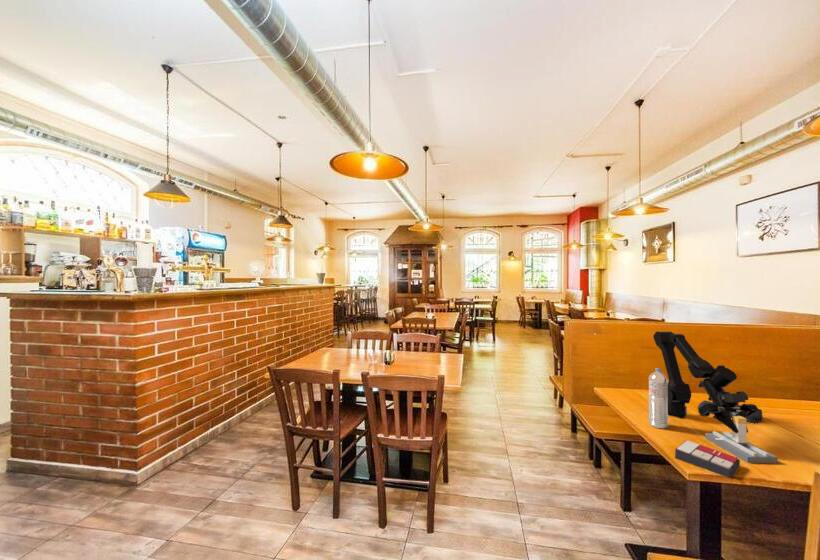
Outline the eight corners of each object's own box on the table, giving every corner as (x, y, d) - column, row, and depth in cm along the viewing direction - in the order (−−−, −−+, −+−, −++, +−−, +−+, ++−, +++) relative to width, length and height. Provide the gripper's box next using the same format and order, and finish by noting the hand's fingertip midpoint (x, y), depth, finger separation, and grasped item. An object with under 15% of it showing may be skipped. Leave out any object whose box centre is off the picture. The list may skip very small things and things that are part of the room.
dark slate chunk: (703, 403, 174) (703, 394, 174) (765, 417, 157) (765, 407, 156) (694, 411, 165) (694, 401, 165) (759, 426, 147) (759, 415, 147)
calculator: (731, 468, 110) (675, 446, 122) (730, 481, 110) (674, 458, 122) (740, 457, 116) (686, 438, 128) (739, 469, 116) (685, 449, 129)
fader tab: (731, 441, 129) (731, 415, 129) (739, 441, 129) (739, 415, 129) (738, 445, 126) (738, 418, 126) (747, 445, 126) (747, 418, 126)
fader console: (705, 438, 137) (705, 430, 137) (731, 438, 136) (731, 430, 136) (747, 462, 119) (747, 454, 119) (777, 463, 118) (777, 454, 118)
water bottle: (671, 429, 144) (671, 371, 144) (653, 428, 146) (653, 370, 145) (663, 423, 151) (662, 366, 151) (645, 421, 152) (645, 366, 152)
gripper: (704, 383, 132) (729, 423, 121) (754, 383, 131) (784, 424, 120) (688, 396, 140) (711, 435, 129) (735, 396, 139) (762, 435, 128)
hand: (742, 432), depth 126 cm, fingers closed on fader tab, 3 cm apart
